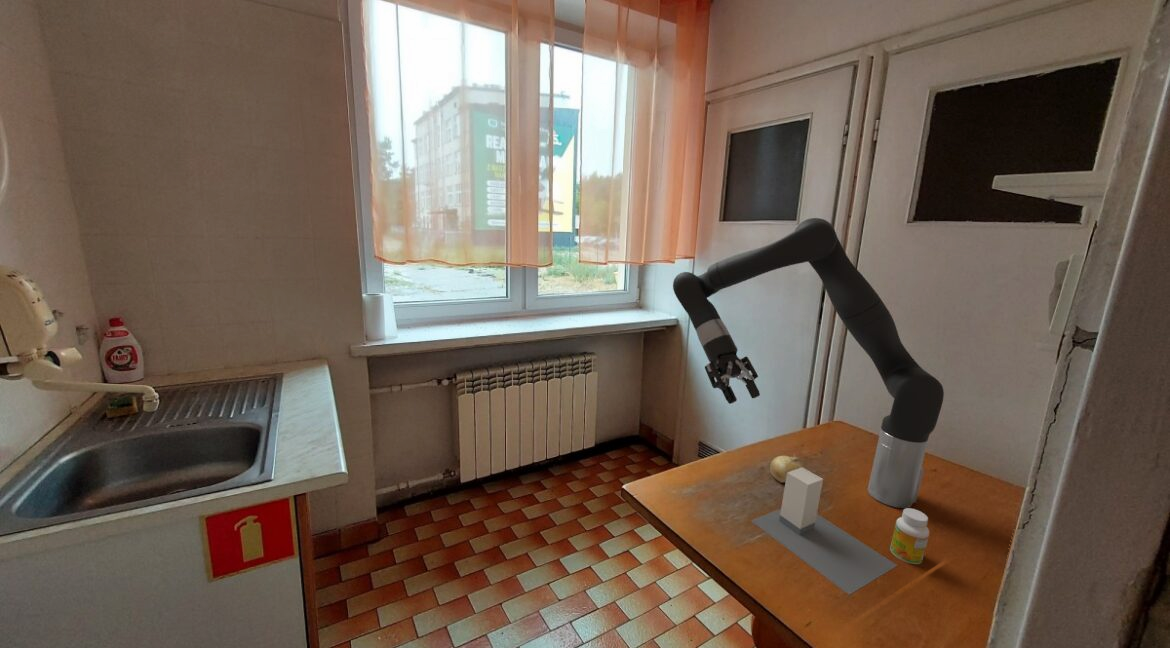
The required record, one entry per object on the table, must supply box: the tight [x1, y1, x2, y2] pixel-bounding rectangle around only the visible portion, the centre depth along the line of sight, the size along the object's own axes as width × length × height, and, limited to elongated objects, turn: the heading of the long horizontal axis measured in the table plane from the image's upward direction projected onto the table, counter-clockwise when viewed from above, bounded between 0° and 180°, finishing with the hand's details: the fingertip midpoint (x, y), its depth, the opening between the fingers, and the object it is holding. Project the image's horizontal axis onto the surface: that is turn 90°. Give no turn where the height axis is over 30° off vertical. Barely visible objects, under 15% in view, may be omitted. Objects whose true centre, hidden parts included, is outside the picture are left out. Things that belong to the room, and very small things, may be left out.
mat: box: [750, 508, 898, 596], centre depth 91 cm, size 22×16×1 cm
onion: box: [769, 453, 804, 484], centre depth 114 cm, size 8×8×7 cm
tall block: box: [779, 467, 824, 535], centre depth 95 cm, size 5×5×12 cm
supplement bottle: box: [889, 507, 930, 565], centre depth 88 cm, size 5×5×10 cm
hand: (745, 399), depth 105 cm, fingers open, 8 cm apart
